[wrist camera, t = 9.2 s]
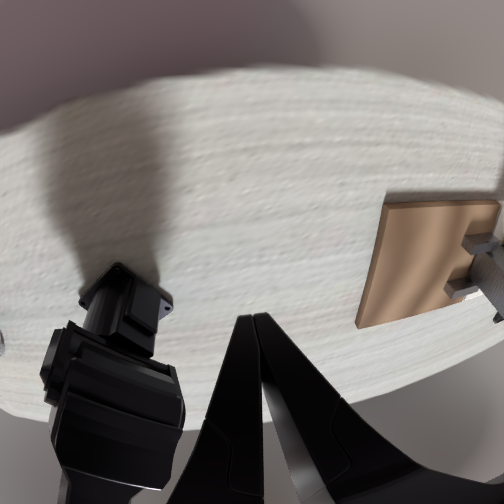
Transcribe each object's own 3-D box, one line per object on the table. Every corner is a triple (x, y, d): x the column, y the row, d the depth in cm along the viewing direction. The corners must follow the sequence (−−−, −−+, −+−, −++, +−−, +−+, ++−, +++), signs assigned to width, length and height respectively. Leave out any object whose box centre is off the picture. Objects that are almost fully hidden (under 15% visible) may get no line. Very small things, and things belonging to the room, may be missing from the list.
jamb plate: (460, 295, 32) (464, 300, 31) (497, 200, 24) (503, 204, 23) (495, 284, 32) (499, 288, 32) (529, 200, 24) (534, 204, 24)
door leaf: (354, 322, 30) (358, 329, 29) (383, 203, 22) (389, 209, 21) (457, 296, 32) (461, 301, 31) (494, 200, 23) (500, 204, 23)
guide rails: (442, 289, 28) (451, 299, 27) (464, 235, 24) (474, 245, 23) (469, 282, 29) (477, 291, 27) (490, 232, 25) (500, 240, 23)
